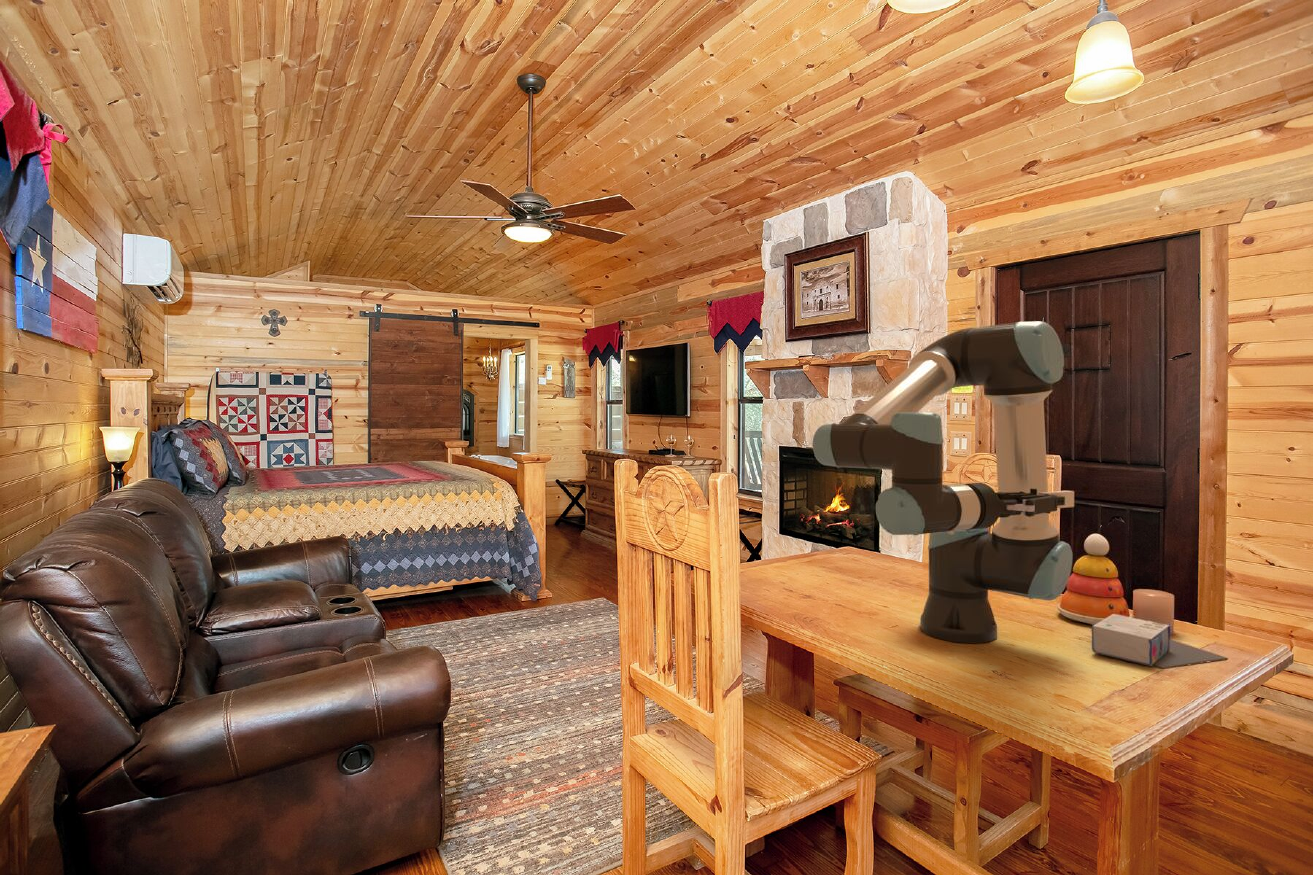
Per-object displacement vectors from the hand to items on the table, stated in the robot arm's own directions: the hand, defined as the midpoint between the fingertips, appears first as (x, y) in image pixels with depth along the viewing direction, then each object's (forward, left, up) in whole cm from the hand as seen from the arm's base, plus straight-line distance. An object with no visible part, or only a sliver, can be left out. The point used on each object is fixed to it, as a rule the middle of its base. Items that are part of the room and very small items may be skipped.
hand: (1070, 498), depth 116 cm
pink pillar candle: (-15, +39, -32) cm, 52 cm away
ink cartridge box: (-3, +15, -29) cm, 33 cm away
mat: (-5, +27, -32) cm, 42 cm away
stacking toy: (-25, +33, -32) cm, 53 cm away
